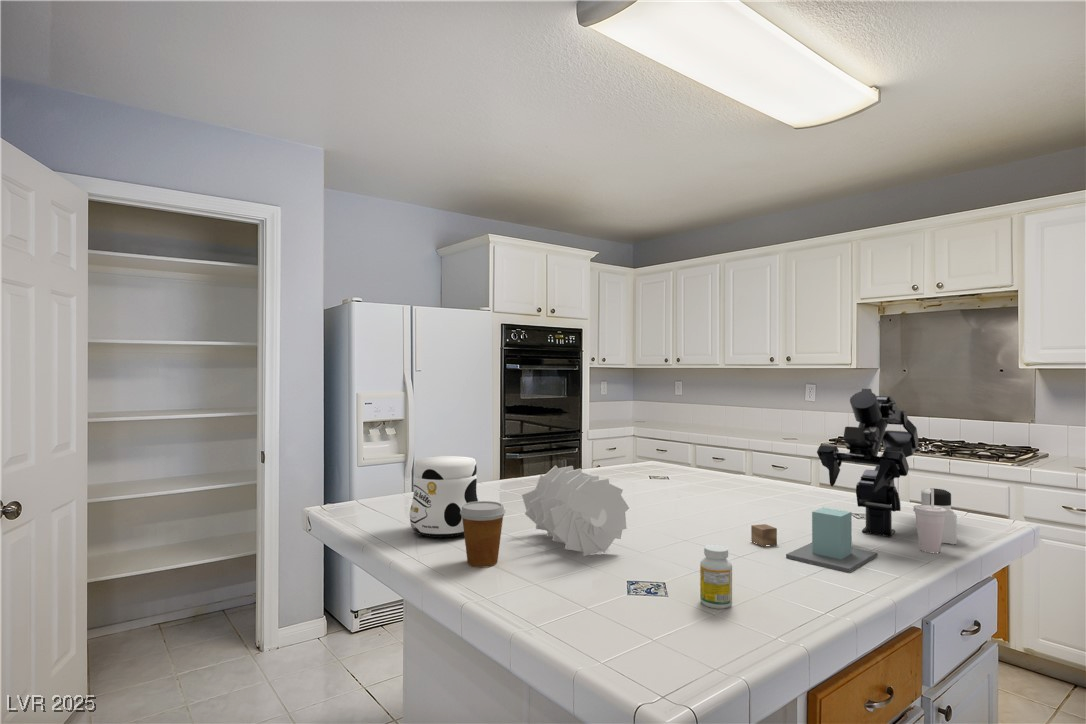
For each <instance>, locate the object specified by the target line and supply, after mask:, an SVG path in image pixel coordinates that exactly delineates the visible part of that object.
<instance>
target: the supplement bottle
mask: <svg viewBox="0 0 1086 724" xmlns="http://www.w3.org/2000/svg"><path fill="white" fill-rule="evenodd" d="M703 551H704V552H703V553H704V556H705V557H703V558H702V559H701V560H700V563H699V566H700V568H699V569H700V570H699V571H700V578H699V580H700V583H699V585H700V589H699V590H700V594H699V595H700V601H701V604H702V605H704V606H706V607H709V608H712V609H719V610H721V609H722V610H723V609H724V610H725V609H728V608H730V607H731V606H733V605H732V604H733V564H732V562H731V561H730V559H728V557H729V549H728V547H726V546H723V545H720V544H708V545H707V544H706V545H704V549H703Z"/></svg>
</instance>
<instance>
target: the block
mask: <svg viewBox="0 0 1086 724" xmlns="http://www.w3.org/2000/svg"><path fill="white" fill-rule="evenodd" d="M777 531H778V528H777V527H774V526H772V525H769V524H753V525H751V533H750V534H751V535H750V536H751V538H750V539H751V540H750V541H752V542H751V543H753V542H755V543H757V544H759V545H762V546H765V547H767V546H766V545H775V546H778V543H777V541H778V538H777V537H778V532H777ZM755 543H754V544H755ZM757 544H756V545H757ZM759 545H758V546H759ZM762 546H761V547H762Z"/></svg>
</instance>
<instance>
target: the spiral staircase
mask: <svg viewBox="0 0 1086 724" xmlns="http://www.w3.org/2000/svg"><path fill="white" fill-rule="evenodd" d="M599 478H600V476H599V475H591V474H588V473H584V472H582V468H577V469H574V466H573V465H569V466H564V467H558V466H557V465H556V464H555V465H554V466H553V467H552V468H551V469H550V470H549V471H548V472H546V474H544V475H542V474H540V475H539V478H538V481H537V483H536V486H535V488H534V489H532V490H529V491H527V492H524V493H522V494H521V497H522V499H523V500H522V501H523V504H524V506H525V510H526V511H525V512H524V515H525V516H526V517H528V518H529V519H530V520H531V521H532V522H533V523H534V524H535V529H536V530H541V531H547V534H546V536H547V537H551V538H552V539H551V540H552V541H554V542H559V543H562V544H565V546H564V549H565V550H570V551H575V552H582V554H583V557H587V556H589V555H591V554H593V553H596V552H597V551H602V552H603V553H606V552H607V551H608V549H609V547H610V546H611V545H612V543H613V542H614V541H615V540H616V539H617V540H621V539H622V533H623V530H627V527H628V526H627V521H626V520H627V518H626V512H627V511H628V510H630V507H629V506H628V504H627V502H626V500H625V499H624V497H623V496H622V494H623V492H624V490H623V489H622V488H620V487H619V486H616V485H614V484H611V483H610V481H609V479H610V478H604V479H603V478H602V479H599Z"/></svg>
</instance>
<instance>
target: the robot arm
mask: <svg viewBox="0 0 1086 724" xmlns="http://www.w3.org/2000/svg"><path fill="white" fill-rule="evenodd" d="M849 402H850V403H849V404H850V406H851V409H852V413H853V415H854V419H855V421H856V422H858V426H845V427H844V431H843V438H842V440H843V441H844V442H845V443H846V445H845V448H846V450H849V452H845V451H840V450H839V448H838V446H837V445H828V444H827V445H826V444H821V445H819V446H818V447H817V451H816V454H817V455H818V458H819V460H820V463H821V464H822V466H823V467H825V468H826V469H827V470H828V475H829V476H828V477H829V479H828V480H829V485H830V487H834V486H835V484H836V482H837V479H838V477H839V474H840V472H841V468H840V467H841V466H842V463H843V462H847V463H848V462H849V463H850V462H851V463H857V464H859V465H860V464H861V465H867V466H868V465H869V466H875V467H874V470H873V469H865V470H864V471H863V472H862V475H861V476H860V480H859V481H858V482H857V483H856V487H855V493H856V495H855V496H856V503H857V507H863V508H865V527H864V528H863V529H862V530H861V532H862V533H863V534H864V533H866V534H872V535H878V536H884V537H893V535H894V534H895V533H896V529H894V528H893V527H892V526H893V525H892V523H893V521H892V520H893V519H892V512H901V505H902V504H901V500H900V499H901V498H900V494H899V492H898V490H897V487H896V485H895V479H899V478H901V477H906V476H908V473H909V470H910V469H909V463H908V461H907V458H908V457H912V456H913V455H914V454H915V452H916V450H918V448H919V436H918V435H919V434H918V429H917V427H916V426H915V425H914V423H912V421H911V420H910V419H909V418H908V412H907V411H906V410H903V409H900V408H899V407H898V405H897V402H896V401H895V400H894V399H893V397H892V396H890V395H888V396H887V395H876V394H875V393H874V392H873V391H872V388H861V391H858V392H856V393H854V394H853V395H852V396H851V397H850V399H849ZM888 425H895V426H896V425H899V426H900V425H901V426H903V428H904V430H905V431H904V430H903V431H901V430H887V427H888ZM881 445H882V446H881ZM882 448H883V452H882ZM880 452H882V454H881V456H880V455H879V456H878V453H880Z"/></svg>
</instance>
